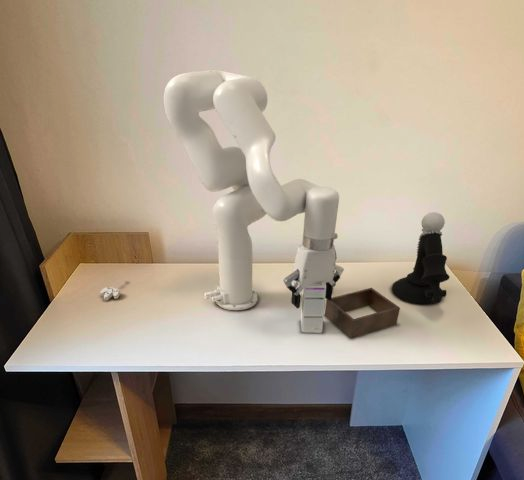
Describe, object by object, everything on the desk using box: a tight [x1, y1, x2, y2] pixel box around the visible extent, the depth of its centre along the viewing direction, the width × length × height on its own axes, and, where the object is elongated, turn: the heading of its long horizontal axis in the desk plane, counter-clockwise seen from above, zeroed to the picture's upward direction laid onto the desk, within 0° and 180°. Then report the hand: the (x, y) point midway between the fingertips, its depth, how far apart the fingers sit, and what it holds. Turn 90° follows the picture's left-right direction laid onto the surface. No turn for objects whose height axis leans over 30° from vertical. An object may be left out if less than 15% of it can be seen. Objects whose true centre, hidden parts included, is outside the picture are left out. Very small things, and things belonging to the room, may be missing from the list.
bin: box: [324, 287, 401, 339], centre depth 126 cm, size 16×13×6 cm
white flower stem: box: [99, 281, 126, 302], centre depth 138 cm, size 6×12×3 cm, turn 179°
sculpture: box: [391, 211, 451, 306], centre depth 130 cm, size 15×24×25 cm, turn 0°
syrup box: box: [300, 282, 326, 334], centre depth 120 cm, size 6×6×14 cm
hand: (311, 301), depth 120 cm, fingers open, 9 cm apart
